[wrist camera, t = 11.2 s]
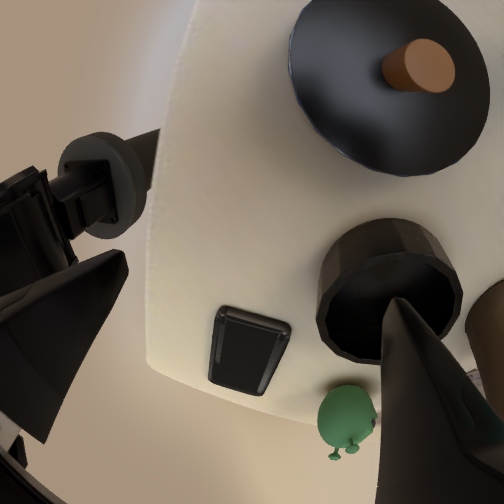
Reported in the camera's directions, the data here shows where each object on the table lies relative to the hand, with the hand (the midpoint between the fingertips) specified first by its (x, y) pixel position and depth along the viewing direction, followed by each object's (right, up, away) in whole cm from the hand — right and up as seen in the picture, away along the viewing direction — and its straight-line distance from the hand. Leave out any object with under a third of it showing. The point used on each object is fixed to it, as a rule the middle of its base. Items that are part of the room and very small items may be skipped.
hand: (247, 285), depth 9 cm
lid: (+8, +11, +3) cm, 14 cm away
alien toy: (+13, -17, +23) cm, 31 cm away
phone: (-1, -11, +23) cm, 26 cm away
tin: (+11, -1, +13) cm, 18 cm away
